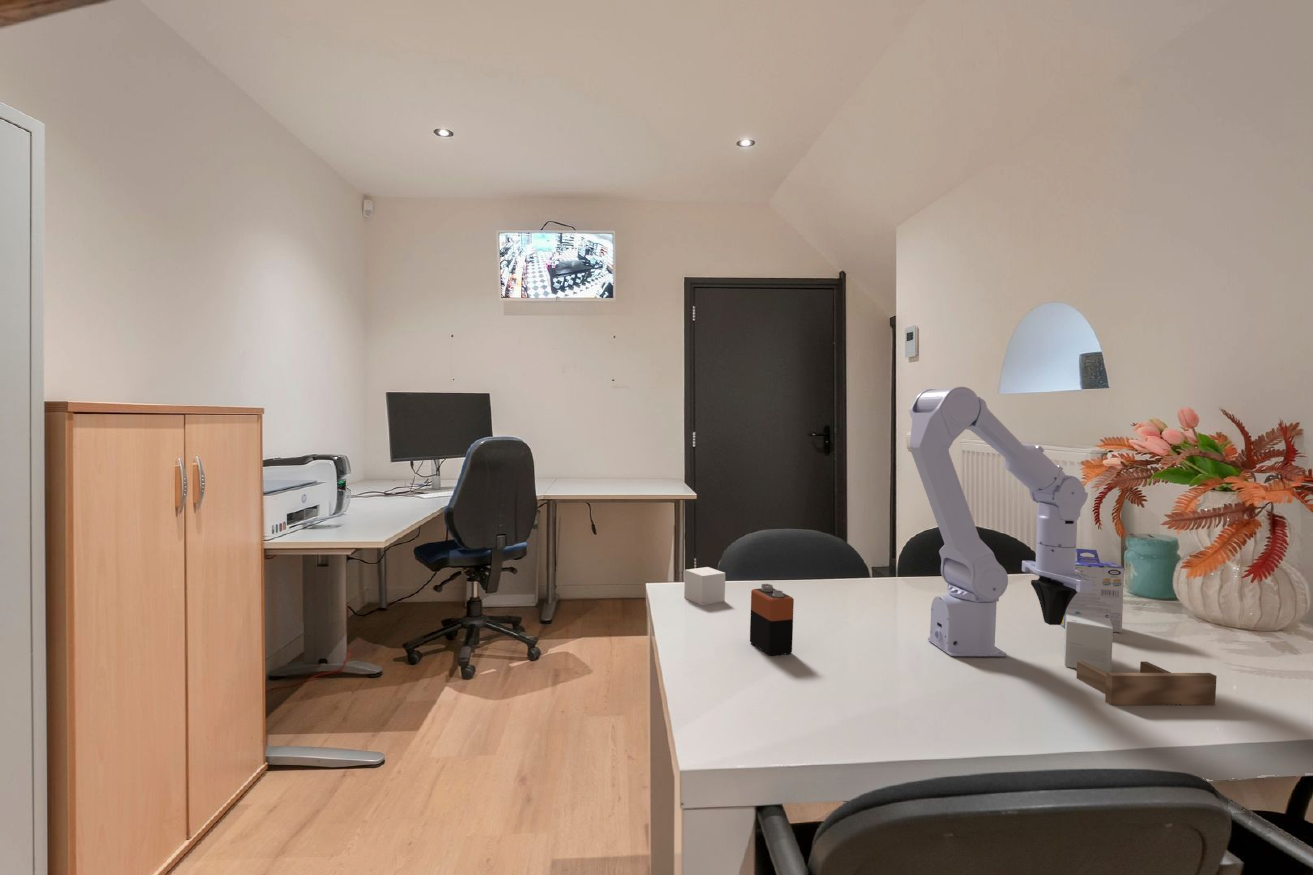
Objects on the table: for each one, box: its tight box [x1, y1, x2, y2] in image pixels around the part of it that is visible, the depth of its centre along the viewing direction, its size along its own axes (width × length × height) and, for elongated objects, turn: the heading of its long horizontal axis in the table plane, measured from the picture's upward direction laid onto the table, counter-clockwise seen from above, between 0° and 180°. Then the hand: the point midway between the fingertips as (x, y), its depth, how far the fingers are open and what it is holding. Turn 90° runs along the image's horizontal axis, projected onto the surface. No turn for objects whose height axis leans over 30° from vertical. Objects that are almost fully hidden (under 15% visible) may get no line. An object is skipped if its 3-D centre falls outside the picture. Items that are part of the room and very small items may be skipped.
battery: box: [749, 583, 795, 656], centre depth 103 cm, size 4×7×10 cm, turn 21°
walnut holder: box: [1075, 661, 1218, 706], centre depth 90 cm, size 15×9×4 cm, turn 94°
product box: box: [1063, 613, 1114, 673], centre depth 99 cm, size 6×6×7 cm
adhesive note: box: [683, 566, 726, 606], centre depth 131 cm, size 6×6×6 cm
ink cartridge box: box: [1060, 548, 1125, 633], centre depth 119 cm, size 10×6×14 cm, turn 78°
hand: (1052, 623), depth 107 cm, fingers closed
